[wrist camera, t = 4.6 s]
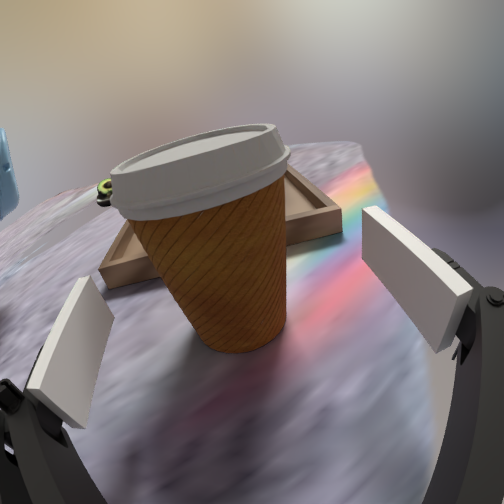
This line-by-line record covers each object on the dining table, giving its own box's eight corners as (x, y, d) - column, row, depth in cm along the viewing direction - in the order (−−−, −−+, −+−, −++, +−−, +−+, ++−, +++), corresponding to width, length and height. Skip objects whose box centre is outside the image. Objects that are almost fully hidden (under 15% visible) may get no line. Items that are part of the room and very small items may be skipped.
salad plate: (161, 171, 74) (157, 156, 72) (179, 179, 60) (173, 159, 58) (98, 197, 67) (92, 182, 65) (99, 213, 53) (91, 193, 51)
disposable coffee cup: (333, 295, 19) (319, 117, 13) (254, 401, 13) (172, 174, 7) (233, 266, 25) (198, 131, 19) (152, 336, 19) (78, 181, 13)
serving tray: (108, 289, 26) (98, 269, 25) (144, 214, 43) (139, 200, 42) (342, 231, 26) (341, 208, 25) (289, 177, 44) (286, 163, 42)
